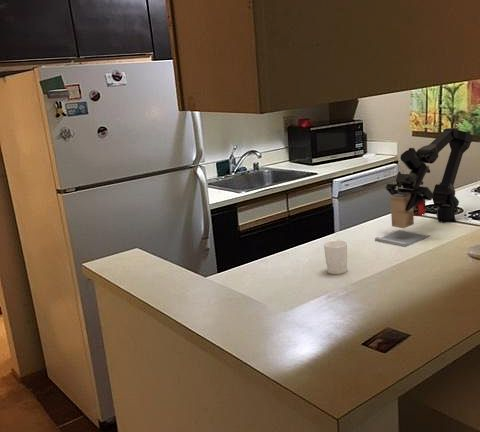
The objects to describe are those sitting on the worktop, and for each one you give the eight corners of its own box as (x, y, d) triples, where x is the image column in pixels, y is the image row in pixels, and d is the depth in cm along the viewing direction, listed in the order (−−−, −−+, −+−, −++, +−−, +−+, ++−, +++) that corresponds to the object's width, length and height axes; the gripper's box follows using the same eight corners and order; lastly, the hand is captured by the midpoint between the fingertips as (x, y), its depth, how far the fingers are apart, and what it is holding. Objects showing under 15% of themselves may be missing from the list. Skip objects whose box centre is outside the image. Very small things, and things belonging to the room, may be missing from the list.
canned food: (403, 213, 252) (402, 190, 249) (417, 210, 255) (416, 187, 253) (415, 216, 245) (414, 192, 243) (429, 213, 248) (428, 189, 246)
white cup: (343, 276, 187) (341, 248, 184) (322, 273, 191) (320, 246, 189) (352, 268, 193) (350, 240, 191) (331, 266, 197) (329, 239, 195)
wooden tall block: (402, 222, 221) (400, 191, 218) (413, 224, 217) (412, 192, 214) (391, 226, 218) (390, 195, 214) (403, 228, 213) (402, 196, 210)
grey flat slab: (399, 231, 228) (399, 228, 228) (429, 236, 217) (429, 233, 217) (375, 240, 219) (375, 238, 219) (404, 247, 208) (404, 244, 208)
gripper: (387, 163, 221) (370, 196, 218) (427, 166, 206) (410, 201, 203) (400, 178, 227) (384, 210, 224) (440, 182, 213) (424, 217, 209)
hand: (400, 209), depth 215 cm, fingers closed on wooden tall block, 5 cm apart
